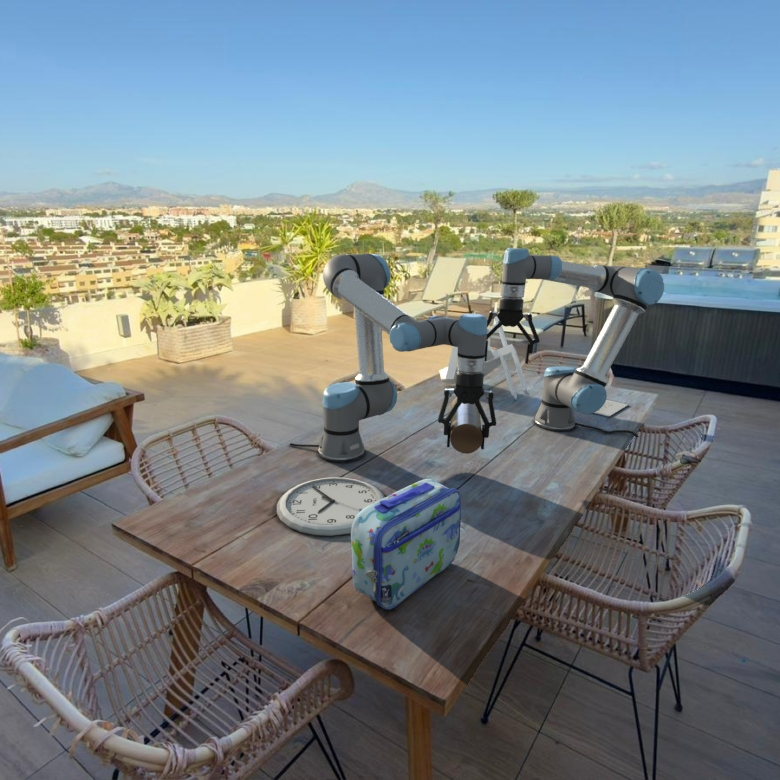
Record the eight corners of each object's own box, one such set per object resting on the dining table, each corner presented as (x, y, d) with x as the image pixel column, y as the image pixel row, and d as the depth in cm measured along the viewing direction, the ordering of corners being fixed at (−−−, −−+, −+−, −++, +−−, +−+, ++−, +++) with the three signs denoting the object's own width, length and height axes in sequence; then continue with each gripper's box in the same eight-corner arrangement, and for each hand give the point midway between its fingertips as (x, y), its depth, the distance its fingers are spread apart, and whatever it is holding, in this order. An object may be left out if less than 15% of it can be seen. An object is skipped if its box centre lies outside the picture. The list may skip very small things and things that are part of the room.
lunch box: (380, 623, 100) (381, 528, 94) (344, 596, 108) (343, 505, 101) (464, 565, 118) (470, 482, 112) (428, 545, 125) (432, 466, 119)
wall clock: (392, 527, 129) (268, 531, 127) (391, 533, 130) (269, 537, 127) (383, 473, 158) (282, 475, 155) (383, 478, 158) (282, 480, 156)
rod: (450, 419, 173) (451, 393, 170) (477, 421, 172) (479, 395, 169) (449, 452, 147) (451, 422, 145) (481, 454, 146) (483, 424, 144)
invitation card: (608, 416, 214) (573, 407, 224) (608, 416, 214) (573, 408, 224) (628, 404, 229) (594, 396, 238) (628, 405, 229) (594, 397, 238)
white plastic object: (461, 429, 252) (437, 405, 227) (444, 352, 274) (420, 323, 250) (535, 404, 240) (518, 377, 215) (510, 326, 262) (492, 293, 237)
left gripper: (430, 372, 141) (426, 449, 148) (511, 376, 139) (504, 454, 146) (431, 365, 149) (428, 439, 155) (508, 369, 146) (502, 443, 153)
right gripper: (473, 297, 167) (468, 361, 173) (553, 301, 164) (545, 366, 170) (472, 294, 174) (467, 356, 180) (549, 298, 171) (541, 361, 177)
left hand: (465, 446), depth 151 cm, fingers closed on rod, 9 cm apart
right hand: (505, 361), depth 175 cm, fingers open, 13 cm apart
